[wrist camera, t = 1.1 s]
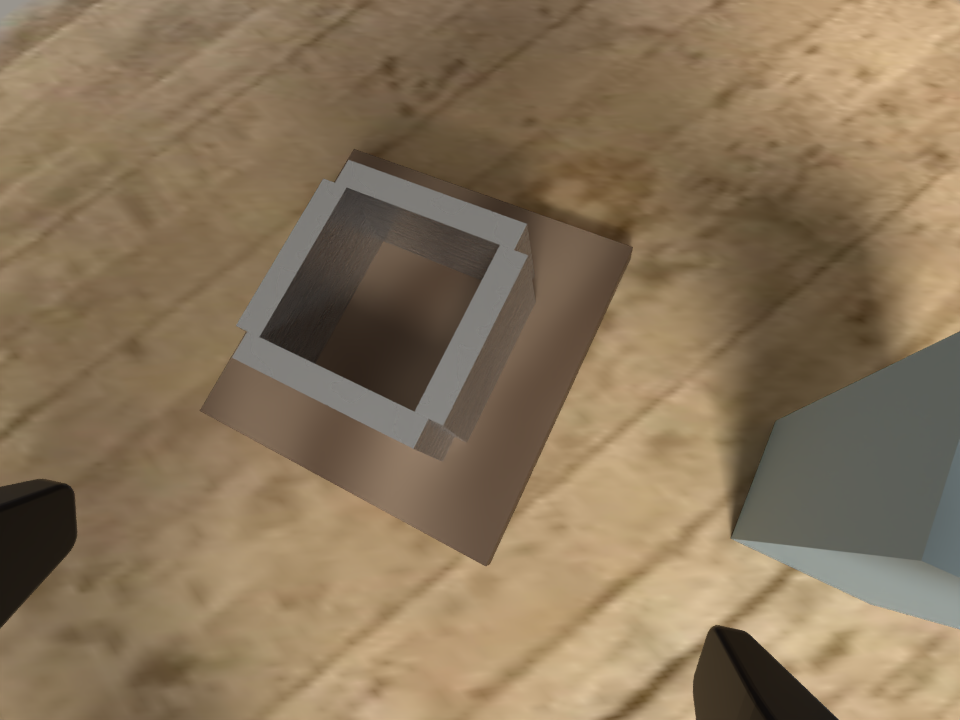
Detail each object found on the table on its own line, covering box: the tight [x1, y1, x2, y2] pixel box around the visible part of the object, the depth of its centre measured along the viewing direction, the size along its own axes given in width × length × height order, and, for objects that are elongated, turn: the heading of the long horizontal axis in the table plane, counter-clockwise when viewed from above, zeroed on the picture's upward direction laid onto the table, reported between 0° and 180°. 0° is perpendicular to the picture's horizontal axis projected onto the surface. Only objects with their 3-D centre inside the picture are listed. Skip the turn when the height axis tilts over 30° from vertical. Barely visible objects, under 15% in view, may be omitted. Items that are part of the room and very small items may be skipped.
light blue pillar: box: [731, 332, 960, 629], centre depth 14 cm, size 4×4×11 cm
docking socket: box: [200, 149, 633, 566], centre depth 21 cm, size 13×13×5 cm
